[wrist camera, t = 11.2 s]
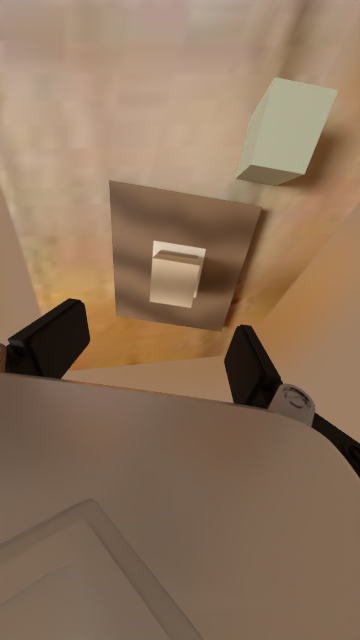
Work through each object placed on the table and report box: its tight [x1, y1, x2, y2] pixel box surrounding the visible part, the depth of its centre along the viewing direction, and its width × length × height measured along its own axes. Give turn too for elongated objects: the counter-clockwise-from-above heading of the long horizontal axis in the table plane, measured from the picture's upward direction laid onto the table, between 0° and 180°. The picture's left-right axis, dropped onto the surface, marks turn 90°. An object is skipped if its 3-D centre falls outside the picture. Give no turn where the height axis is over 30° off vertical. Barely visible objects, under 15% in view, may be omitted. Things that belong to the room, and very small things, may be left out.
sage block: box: [236, 77, 338, 186], centre depth 17 cm, size 5×5×6 cm
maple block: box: [150, 250, 200, 308], centre depth 22 cm, size 5×5×6 cm
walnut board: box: [109, 180, 262, 332], centre depth 25 cm, size 18×18×2 cm
